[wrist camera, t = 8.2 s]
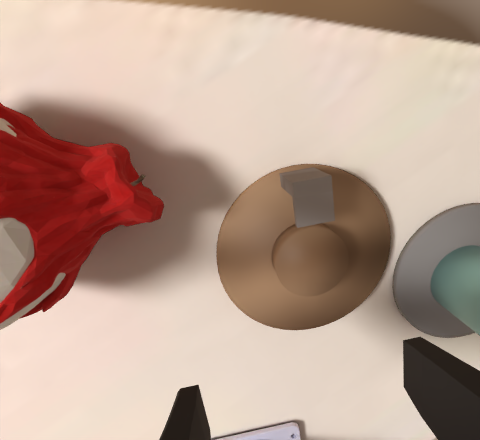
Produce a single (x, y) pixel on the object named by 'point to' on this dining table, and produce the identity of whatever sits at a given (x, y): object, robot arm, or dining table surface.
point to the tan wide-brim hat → (303, 246)
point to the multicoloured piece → (58, 210)
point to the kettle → (459, 285)
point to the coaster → (423, 265)
